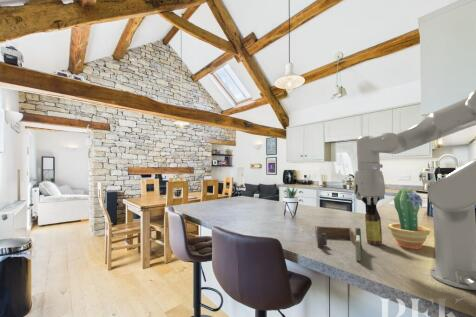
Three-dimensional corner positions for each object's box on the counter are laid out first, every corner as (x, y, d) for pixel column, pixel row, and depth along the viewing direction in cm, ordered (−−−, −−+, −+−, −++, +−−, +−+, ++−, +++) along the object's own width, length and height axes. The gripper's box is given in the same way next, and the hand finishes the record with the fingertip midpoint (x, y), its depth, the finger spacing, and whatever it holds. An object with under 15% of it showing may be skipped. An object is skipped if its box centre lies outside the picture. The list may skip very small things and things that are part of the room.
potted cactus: (391, 248, 95) (387, 190, 97) (386, 238, 109) (383, 187, 110) (437, 254, 88) (433, 191, 89) (426, 242, 102) (422, 188, 103)
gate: (356, 249, 94) (356, 232, 94) (360, 249, 93) (359, 233, 93) (356, 259, 83) (355, 241, 83) (360, 260, 82) (359, 241, 82)
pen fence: (362, 250, 93) (361, 229, 94) (317, 247, 98) (317, 227, 98) (351, 237, 110) (351, 219, 111) (314, 236, 115) (313, 218, 115)
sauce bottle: (384, 246, 98) (382, 201, 99) (369, 245, 99) (367, 201, 100) (378, 241, 105) (376, 199, 106) (364, 240, 106) (362, 199, 107)
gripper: (381, 167, 90) (383, 212, 89) (344, 167, 90) (346, 213, 89) (394, 167, 83) (396, 216, 82) (354, 167, 83) (357, 217, 82)
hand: (370, 214), depth 85 cm, fingers closed
